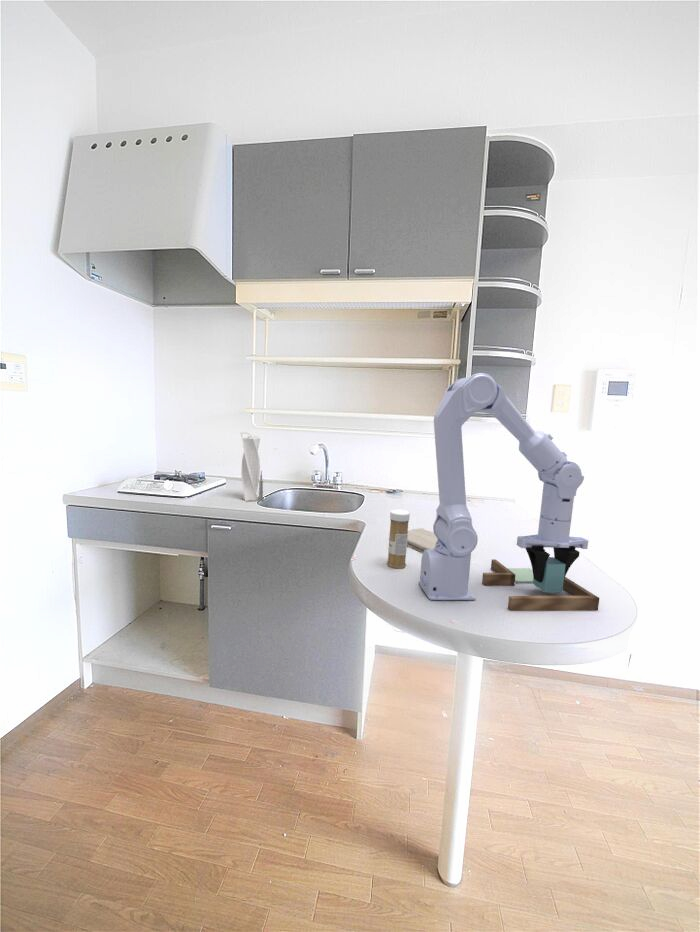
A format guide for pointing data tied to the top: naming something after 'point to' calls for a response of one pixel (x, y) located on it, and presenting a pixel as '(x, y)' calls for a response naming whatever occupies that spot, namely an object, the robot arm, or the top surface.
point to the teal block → (552, 576)
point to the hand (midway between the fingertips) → (547, 580)
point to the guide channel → (576, 601)
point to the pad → (522, 575)
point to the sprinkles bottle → (398, 538)
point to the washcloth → (421, 539)
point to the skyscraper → (251, 469)
